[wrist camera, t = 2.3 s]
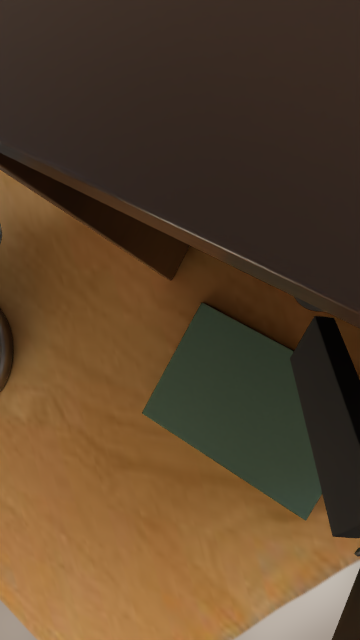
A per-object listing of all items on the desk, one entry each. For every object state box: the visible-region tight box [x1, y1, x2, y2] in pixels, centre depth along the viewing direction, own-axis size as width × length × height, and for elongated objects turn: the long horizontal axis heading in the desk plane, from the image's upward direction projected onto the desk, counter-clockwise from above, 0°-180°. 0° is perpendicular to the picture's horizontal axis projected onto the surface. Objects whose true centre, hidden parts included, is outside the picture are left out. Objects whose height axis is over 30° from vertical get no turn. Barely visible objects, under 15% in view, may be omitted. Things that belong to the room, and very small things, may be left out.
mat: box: [142, 303, 322, 520], centre depth 30 cm, size 13×18×1 cm
